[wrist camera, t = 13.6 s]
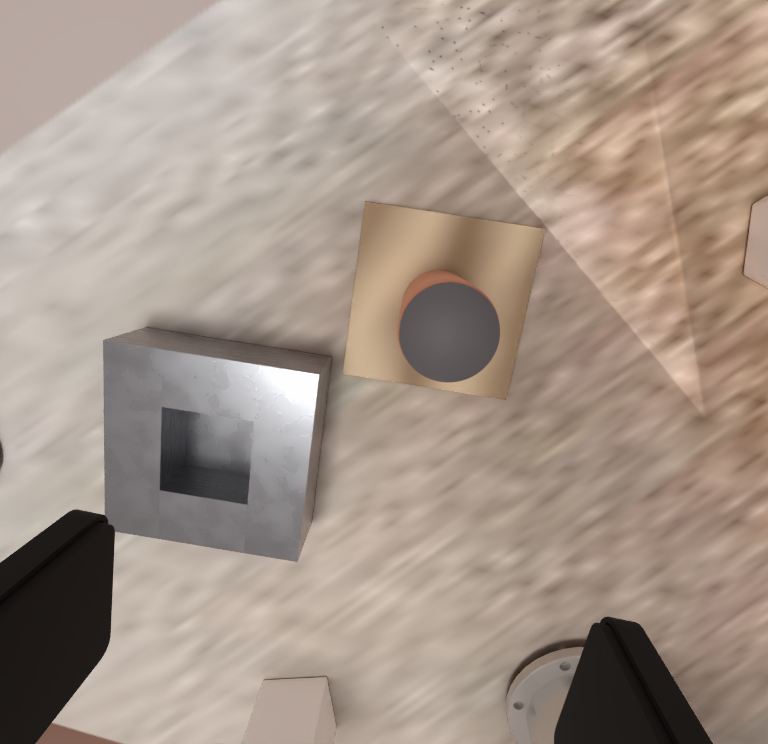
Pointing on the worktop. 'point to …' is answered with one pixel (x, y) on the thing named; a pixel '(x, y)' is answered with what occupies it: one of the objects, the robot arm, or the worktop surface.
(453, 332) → the orange grey-topped cylinder
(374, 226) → the plate
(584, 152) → the worktop surface
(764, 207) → the jar
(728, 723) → the worktop surface
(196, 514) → the bore housing
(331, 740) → the milk
